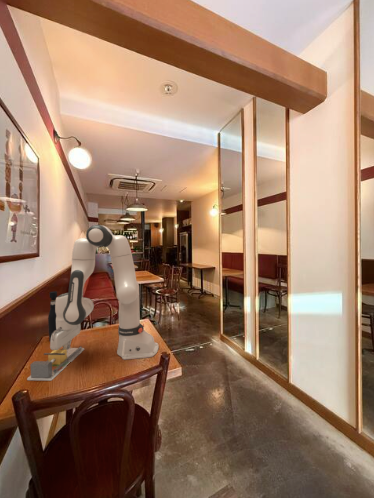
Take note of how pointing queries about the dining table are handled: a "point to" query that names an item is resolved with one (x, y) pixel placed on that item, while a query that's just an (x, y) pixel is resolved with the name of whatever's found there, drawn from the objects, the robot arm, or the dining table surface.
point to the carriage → (57, 356)
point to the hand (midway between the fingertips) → (67, 349)
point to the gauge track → (52, 366)
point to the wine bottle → (52, 314)
